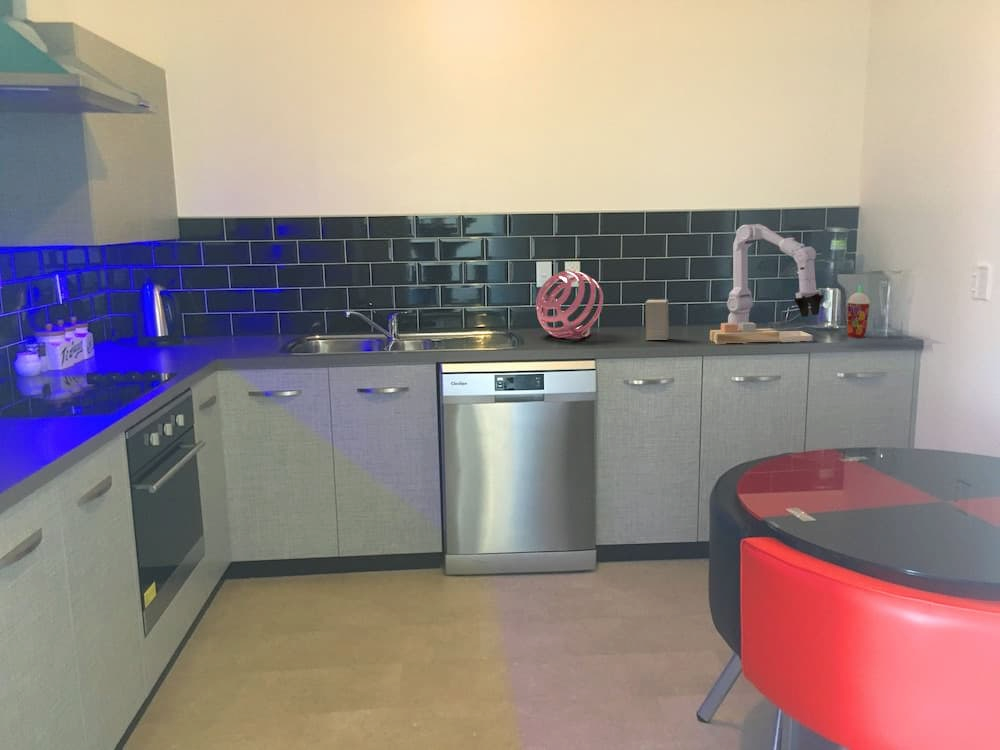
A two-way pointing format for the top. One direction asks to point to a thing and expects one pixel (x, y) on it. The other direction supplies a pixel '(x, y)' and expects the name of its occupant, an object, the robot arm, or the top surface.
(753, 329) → the tile
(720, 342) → the board
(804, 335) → the tray
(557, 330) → the spiral basket
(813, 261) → the robot arm
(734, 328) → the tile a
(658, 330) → the skincare box
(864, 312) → the smoothie
